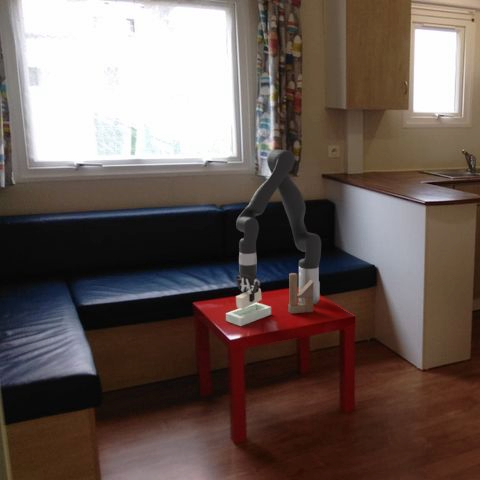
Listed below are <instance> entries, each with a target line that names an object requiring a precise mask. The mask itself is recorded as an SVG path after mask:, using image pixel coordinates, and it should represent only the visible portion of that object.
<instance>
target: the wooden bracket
mask: <svg viewBox="0 0 480 480" xmlns="http://www.w3.org/2000/svg"><path fill="white" fill-rule="evenodd" d="M288 275H289V276H288V277H289V278H288V279H289V280H288V282H289V283H288V284H289V285H288V286H289V290H288V291H289V293H288V294H289V296H288V297H289V302H288V305H287V308H288V309H287V311H288V313H289V314H302V313H303V314H304V313H313V312H314V304H313V281H312V280H310V281H309V282H308V283H307V284H306V285H305V286H304V287H303V289H302V290H301V291H300V292H299V291H298V273H296V272H291V273H289V274H288ZM299 298H304V304H302V303H300V302H298V299H299Z"/></svg>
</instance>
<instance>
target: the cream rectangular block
mask: <svg viewBox="0 0 480 480" xmlns="http://www.w3.org/2000/svg"><path fill="white" fill-rule="evenodd" d="M246 291H247V292H245V293H242V292H241V293H240V294H239V295H236V296H235V303H236V308H237V309H239V308H241V309H244V308H246V307H248V306H250V305H252V304H254V303H256V302H257V303H259V301H262V300H263V299H262V290H261V288H259V291H258V292H257V293H255V300H254V301H253V302H250V301H249V294H250V293H249V290H246Z"/></svg>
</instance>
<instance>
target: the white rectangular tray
mask: <svg viewBox="0 0 480 480" xmlns="http://www.w3.org/2000/svg"><path fill="white" fill-rule="evenodd" d="M270 315H272V306H269V305H266V304H263V303H259V302H256V303H254V304H252V305H250V306H248V307H246V308H244V309H241V308H237V309H234V310H231V311H229V312H226V313H225V321H226V322H229V323H231V324H233V325H236V326H239V327H242V326H245V325H248V324H250V323H252V322H255V321H257V320H260V319H263V318H265V317H268V316H270Z"/></svg>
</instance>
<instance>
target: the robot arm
mask: <svg viewBox="0 0 480 480" xmlns="http://www.w3.org/2000/svg"><path fill="white" fill-rule="evenodd" d="M295 158H296V157H295V156H294V154H293V152H292V151H290V150H287V149H286V150H285V149H271V150H269V152H268V154H267V156H266V163H267V167H268V169H269V171H270V173H271V174H270V175H269V177H268V178H267V179H266V180H265V181H264V182H263V183H262V184H261V185H260V186H259V187H258V188H257V190H256V191H255V192H254V194H253V196H252V197H251V199H250V201H249V204H248V205H247V206H246V207H245V208H244V209H243V211H242V212H241V213H240V214H239V216H238V217H237V219H236V224H235V225H236V226H235V227H236V229H237V230H238V231H240V232H241V233H242V232H243V238H241V239H240V240H239V245H238V248H239V253H238V254H239V255H238V265H239V266H238V267H239V268H238V270H239V275H236V276H235V279H236V284H237V287H238V290H240V291H241V294H242V293H245V292H247V291H249V293H250V294H249V301H250V302H253V301H254V300H255V293H257V292H258V291H259V289H260V286H261V284H262V281H261V280H258V279H257V276H256V274H257V272H258V271H257V269H258V268H257V264H258V263H257V258H258V257H257V239H258V235H259V232H260V231H259V230H260V226H259V222H258V220H257V219H256V217H257V216H260V215H262V214H263V213H264V212H265V210H266V208H267V206H268V204H269V203H270V200H271V199H272V197H273V195H274V193H275V192H276V191H277V190H278V193H279V196H280V199H281V201H282V205H283V207H284V210H285V213H286V215H287V218H288V221H289V225H290V227H291V231H292V235H293V241H294V244H295V247H296V248H297V250H299V251H301V252H302V253H303V252H304V253H305V256H304V258H301V259H299V261H298V293H299V292H300V291H301V290H302V289H303V287H304V286H305V285H306V284H307V283H308V282H309V281H310V280H312V281H313V305H316V304H318V303H319V301H320V295H321V293H320V288H321V287H320V286H321V285H320V284H321V283H320V281H319V273H320V271H319V269H320V268H319V267H320V265H319V264H320V261H321V254H322V252H321V251H322V241H321V237H320V236H319V235H318V234H317V233H312V232H308V230H307V227H306V224H305V222H304V219H305V214H306V208H307V207H306V202H305V200H304V197H303V194H302V192H301V190H300V189H299V187H298V186H297V185H296V183H294V181H293V180H292V179H291V177H290V175H289V173H290V171H291V170H292V169H293V167H294V164H295V161H296V160H295ZM298 303H302V304H304V298H298Z"/></svg>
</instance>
